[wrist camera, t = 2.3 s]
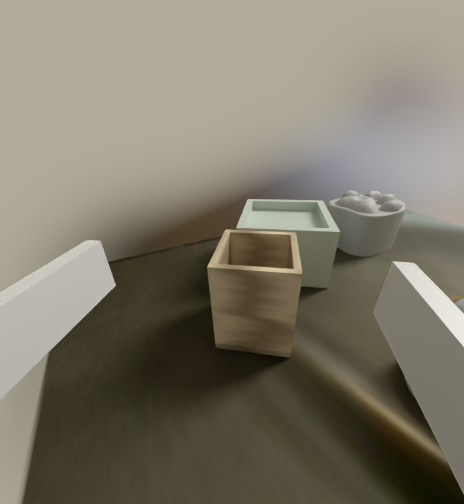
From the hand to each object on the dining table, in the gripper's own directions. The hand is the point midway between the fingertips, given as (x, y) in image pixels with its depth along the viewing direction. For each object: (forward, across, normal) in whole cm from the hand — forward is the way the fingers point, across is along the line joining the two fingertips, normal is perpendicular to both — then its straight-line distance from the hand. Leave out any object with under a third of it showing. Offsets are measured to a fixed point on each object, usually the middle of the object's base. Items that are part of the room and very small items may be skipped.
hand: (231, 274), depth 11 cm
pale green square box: (+24, +4, -14) cm, 28 cm away
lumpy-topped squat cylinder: (+34, +19, -14) cm, 41 cm away
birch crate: (+10, +1, -14) cm, 17 cm away
